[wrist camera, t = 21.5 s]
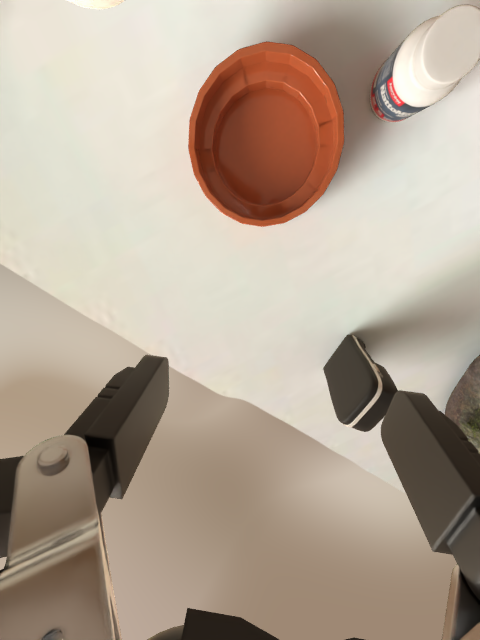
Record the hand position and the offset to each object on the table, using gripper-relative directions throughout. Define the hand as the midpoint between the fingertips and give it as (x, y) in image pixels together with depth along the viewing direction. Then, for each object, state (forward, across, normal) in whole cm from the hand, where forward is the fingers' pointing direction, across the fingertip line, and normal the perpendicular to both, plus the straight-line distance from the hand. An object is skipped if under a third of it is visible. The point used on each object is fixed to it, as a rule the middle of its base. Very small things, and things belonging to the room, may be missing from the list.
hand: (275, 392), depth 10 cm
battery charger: (+26, -13, +13) cm, 32 cm away
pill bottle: (+27, -10, -16) cm, 33 cm away
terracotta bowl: (+26, +2, -10) cm, 29 cm away
